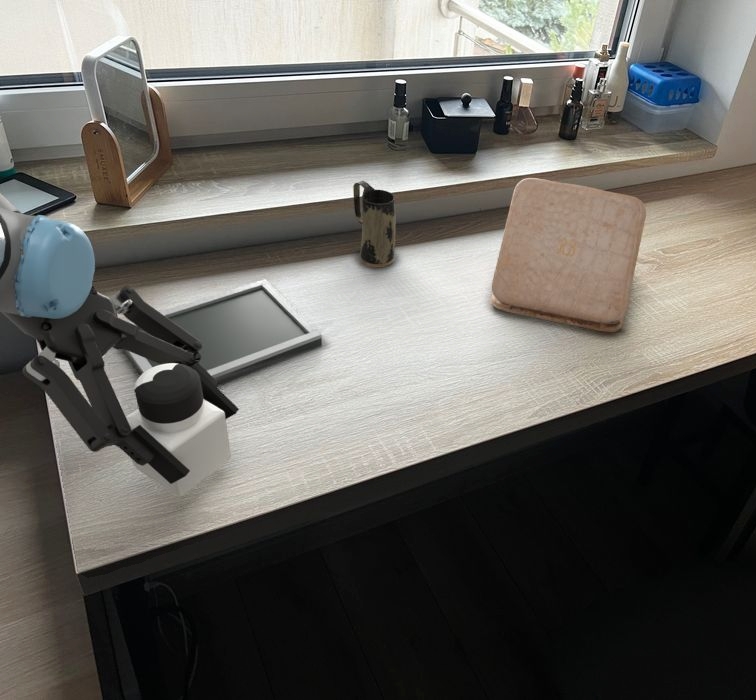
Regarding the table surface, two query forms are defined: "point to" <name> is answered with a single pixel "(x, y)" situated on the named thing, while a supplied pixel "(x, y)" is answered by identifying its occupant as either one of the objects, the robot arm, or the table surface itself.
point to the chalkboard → (240, 331)
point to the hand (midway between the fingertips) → (206, 444)
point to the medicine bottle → (180, 423)
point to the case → (568, 254)
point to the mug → (376, 225)
